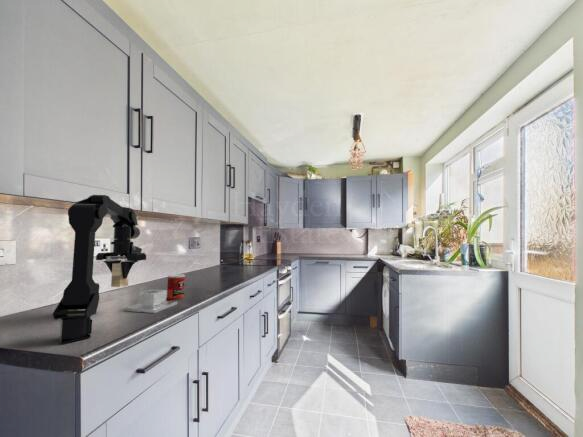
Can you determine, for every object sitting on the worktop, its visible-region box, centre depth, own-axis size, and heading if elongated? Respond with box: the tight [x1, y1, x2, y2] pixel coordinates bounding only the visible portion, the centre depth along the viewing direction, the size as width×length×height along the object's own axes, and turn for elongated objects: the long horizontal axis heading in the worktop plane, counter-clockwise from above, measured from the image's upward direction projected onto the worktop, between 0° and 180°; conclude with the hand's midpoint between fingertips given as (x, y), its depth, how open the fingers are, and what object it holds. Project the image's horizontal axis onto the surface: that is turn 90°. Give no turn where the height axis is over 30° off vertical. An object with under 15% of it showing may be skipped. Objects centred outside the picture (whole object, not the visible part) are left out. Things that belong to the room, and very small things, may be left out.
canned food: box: [166, 273, 186, 301], centre depth 125 cm, size 8×8×11 cm
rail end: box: [110, 262, 130, 288], centre depth 103 cm, size 4×4×9 cm
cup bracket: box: [123, 288, 178, 314], centre depth 109 cm, size 14×14×6 cm
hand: (120, 278), depth 103 cm, fingers closed on rail end, 4 cm apart
